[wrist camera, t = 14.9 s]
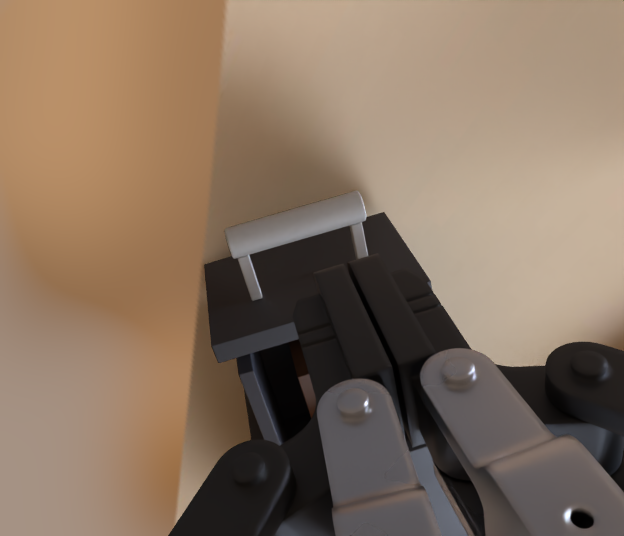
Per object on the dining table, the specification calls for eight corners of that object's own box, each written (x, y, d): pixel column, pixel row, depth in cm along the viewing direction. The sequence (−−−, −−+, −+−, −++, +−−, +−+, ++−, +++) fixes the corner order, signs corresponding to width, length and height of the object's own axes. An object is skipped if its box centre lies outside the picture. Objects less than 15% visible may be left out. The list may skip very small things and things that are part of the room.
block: (301, 378, 40) (314, 427, 37) (284, 330, 38) (297, 377, 34) (363, 359, 41) (382, 405, 37) (351, 309, 38) (371, 354, 34)
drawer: (179, 200, 33) (181, 274, 27) (373, 145, 34) (421, 205, 27) (264, 422, 44) (281, 514, 37) (410, 377, 44) (452, 460, 38)
